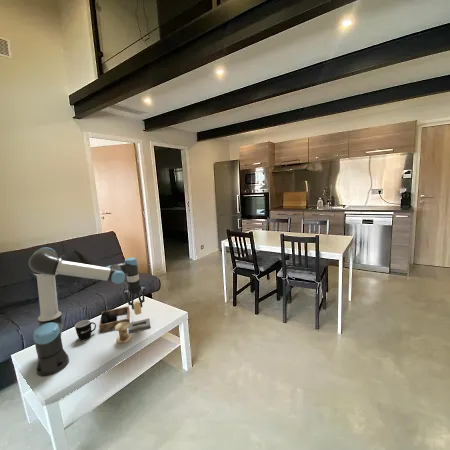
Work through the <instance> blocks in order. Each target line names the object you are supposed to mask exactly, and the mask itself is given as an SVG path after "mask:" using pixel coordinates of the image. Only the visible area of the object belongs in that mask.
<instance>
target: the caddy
mask: <svg viewBox="0 0 450 450" xmlns="http://www.w3.org/2000/svg"><path fill="white" fill-rule="evenodd" d="M105 311H106V312H109V313H110V314H117V316H121V315H125V313H126V314H127V318H124V319H119V320H118V319H117V321H114V322H110V323H105V324H102V323H101V319H100V320H99V325H98V327H99V332H100V333H103V332H106V331H107V332H108V331H111V330H115V326H116V325H117V324H119V323H121V322H129V323H131V319H130V316H131V312H130V305H128V306H123V307H117V308H114V309H110V310H104V311H101V314H102V313H103V312H105Z"/></svg>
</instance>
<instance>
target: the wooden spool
mask: <svg viewBox="0 0 450 450" xmlns="http://www.w3.org/2000/svg"><path fill="white" fill-rule="evenodd" d="M130 323H131V322H130ZM130 323H129V322H121V323H119V324H117V325H116V326H115V329H114V330H115V331H117V332H118V337H117V338H116V344H120V345H122V344H126V343H129V342H130V341H131V339H132V335H131V333H129V332H128V329H129V326H130Z"/></svg>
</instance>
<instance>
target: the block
mask: <svg viewBox="0 0 450 450" xmlns="http://www.w3.org/2000/svg"><path fill="white" fill-rule="evenodd" d="M139 303H140V301H139V300H137V301H134V302H133V304H134V305H135V312H136V314H135V315H141V314H142V313H140V306H139Z"/></svg>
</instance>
